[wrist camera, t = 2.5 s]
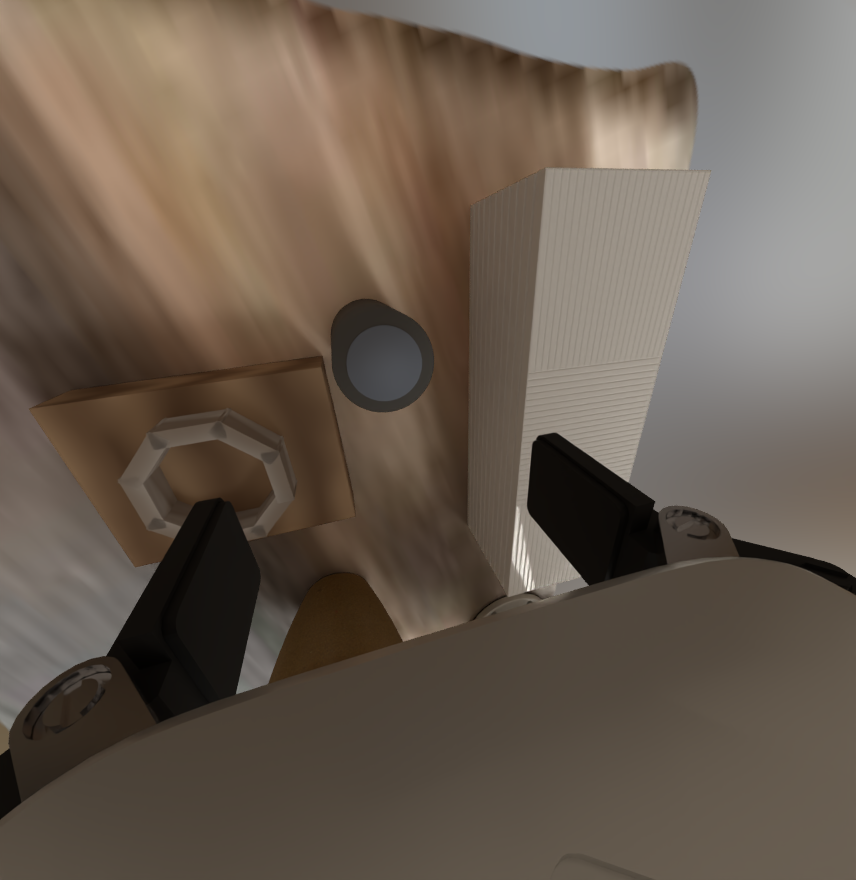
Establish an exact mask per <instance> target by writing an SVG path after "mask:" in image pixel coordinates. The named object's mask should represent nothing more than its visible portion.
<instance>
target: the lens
mask: <svg viewBox="0 0 856 880" xmlns="http://www.w3.org/2000/svg"><path fill="white" fill-rule="evenodd" d="M331 349H332V369H333V374H334V377H335V380H336V382H337V385H338V386H339V388H340V390H341V391H342V392H343V394H344V395H345V396H346V397H347V398H348V399H349V400H350V401H352V402H353V403H354V404H356V405H357V406H359V407H361V408H364V409H366V410H370V411H374V412H392V411H396V410H400V409H402V408H405V407H406V406H408V405H410V404H411V403H413V402H414V401H415V400H417V399H418V398H419V397H420V396H421V395H422V393H423V392H424V391H425V389H426V388H427V386H428V384H429V382H430V380H431V377H432V373H433V368H434V354H433V349H432V345H431V342H430V340H429V338H428V336H427V334H426V333H425V331H424V330H423V329H422V327H421V326H420V325H419V324H418V323H417V322H415V321H414V320H413V319H411V318H410V317H408V316H406V315H404V314H402V313H401V312H399V311H397V310H395V309H393V308H391V307H389V306H387V305H385V304H383V303H381V302H378V301H375V300H371V299H360V300H356V301H353V302H351V303H349V304H347V305H346V306H344V307H343V308H342V309H341V310H340V311H339V312H338V314H337V315H336V317H335V319H334V321H333V324H332V329H331Z"/></svg>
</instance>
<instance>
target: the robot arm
mask: <svg viewBox="0 0 856 880" xmlns="http://www.w3.org/2000/svg"><path fill="white" fill-rule="evenodd" d="M654 503H655V501H654V500H652V499H651V498H649V497H648V496H647V495H645V494H644V493H642V492H641V491H639V490H638V489H636V488H635V487H634V486H632V485H631V484H629V483H628V482H627V481H625V480H624V479H622V478H621V477H619V476H618V475H617V474H615V473H614V472H612V471H611V470H609V469H608V468H606V467H605V466H604V465H602V464H601V463H599V462H598V461H596V460H595V459H594V458H592V457H591V456H589V455H588V454H586V453H585V452H584V451H582V450H581V449H579V448H578V447H576V446H575V445H574V444H572V443H571V442H569V441H568V440H566V439H565V438H564V437H562V436H561V435H559V434H558V433H556V432H555V433H549V434H544V435H539V436H538V437H537V438H536V440H535V441H533V443H532V451H531V462H530V474H529V485H528V497H527V509H528V512H529V514H530V516H531V517H532V518H533V519H534V520H535V522H536V523H537V524H538V525H539V526H540V528H541V529H542V530H543V531H544V532H545V534H546V535H547V536H548V537H549V538H550V540H551V541H552V542H553V543H554V544H555V546H556V547H557V548H558V549H559V550H560V552H561V553H562V554H563V555H564V556H565V558H566V559H567V560H568V561H569V562H570V564H571V565H572V566H573V567H574V568H575V570H576V571H577V572H578V573H579V574H580V576H581V577H582V578H583V579H584V580H585V582H586V583H587V584H588V585H589V586H587V587H584V588H580V589H577V590H573V591H570V592H567V593H563V594H560V595H557V596H553V597H550V598H546V599H543V600H541V599H540V598H539V597H537V596H535V595H533V594H527V593H521V594H518V595H514V596H510V597H507V596H506V597H504V598H501V599H499V600H497V601H495V602H494V603H492V604H490V605H489V606H488V607H486V608H485V609H484V610H483V611H482V612H481V613H480V614H479V615H478V616H477V617H476V619H475V620H473V621H470V622H467V623H463V624H460V625H457V626H454V627H450V628H447V629H444V630H440V631H437V632H434V633H431V634H427V635H424V636H421V637H417V638H414V639H411V640H408V641H404V642H401V643H398V644H395V645H391V646H388V647H385V648H382V649H378V650H375V651H372V652H369V653H366V654H362V655H359V656H356V657H353V658H349V659H346V660H343V661H340V662H337V663H333V664H330V665H327V666H324V667H320V668H317V669H314V670H311V671H307V672H304V673H301V674H298V675H295V676H291V677H288V678H285V679H282V680H279V681H276V682H273V683H270V684H267V685H264V686H261V687H258V688H255V689H252V690H249V691H246V692H243V693H239V694H236V691H237V686H238V681H239V677H240V672H241V668H242V663H243V659H244V654H245V649H246V645H247V640H248V636H249V631H250V626H251V622H252V617H253V613H254V608H255V604H256V599H257V594H258V590H259V585H260V577H261V576H260V570H259V567H258V565H257V562H256V560H255V557H254V555H253V553H252V550H251V548H250V546H249V543H248V541H247V539H246V536H245V534H244V531H243V529H242V527H241V524H240V522H239V520H238V517H237V515H236V512H235V510H234V508H233V505H232V503H231V502H230V501H225V502H224V500H223V499H222V498H220V497H219V498H214V499H209V500H204V501H199V502H196V503H195V504H194V506H193V507H192V509H191V511H190V513H189V514H188V516H187V518H186V519H185V521H184V523H183V525H182V526H181V528H180V530H179V532H178V533H177V535H176V537H175V539H174V540H173V542H172V544H171V545H170V547H169V549H168V551H167V552H166V554H165V556H164V558H163V559H162V561H161V563H160V564H159V566H158V567H157V569H156V571H155V573H154V574H153V576H152V578H151V580H150V581H149V583H148V585H147V587H146V588H145V590H144V592H143V593H142V595H141V597H140V599H139V600H138V602H137V604H136V606H135V607H134V609H133V611H132V613H131V614H130V616H129V618H128V619H127V621H126V623H125V625H124V626H123V628H122V630H121V632H120V633H119V635H118V637H117V638H116V640H115V642H114V644H113V645H112V647H111V649H110V651H109V652H108V654H107V656H102V657H97V658H92V659H89V660H87V661H85V662H82V663H80V664H77V665H75V666H73V667H72V668H70V669H68V670H67V671H65V672H63V673H62V674H60V675H59V676H57V677H56V678H55V679H53V680H52V681H51V682H49V683H48V684H47V685H45V686H44V687H43V688H42V689H41V690H40V691H39V692H38V693H37V694H36V695H35V696H34V697H33V698H32V699H31V700H30V701H29V702H28V703H27V704H26V705H25V707H24V708H23V709H22V711H21V712H20V713H19V714H18V716H17V717H16V719H15V721H14V723H13V725H12V727H11V729H10V731H9V743H8V744H9V749H8V750H7V751H5V752H4V753H3V754H1V755H0V880H856V578H855V577H853V576H852V575H850V574H848V573H847V572H845V571H844V570H843V569H841V568H839V567H837V566H835V565H833V564H831V563H828V562H825V561H821V560H817V559H814V558H810V557H806V556H802V555H798V554H794V553H790V552H786V551H782V550H778V549H774V548H770V547H766V546H762V545H757V544H753V543H749V542H745V541H741V540H737V539H733V538H731V536H730V533H729V531H728V530H727V528H726V527H725V525H724V524H722V523H721V522H720V521H719V520H718V519H716V518H715V517H713V516H711V515H709V514H708V513H705V512H703V511H700V510H698V509H694V508H690V507H685V506H668V507H666V508H663V509H662V510H661V511H660V512H659V513H658V512H656V511H655V510H653V507H654Z"/></svg>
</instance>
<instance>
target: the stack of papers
mask: <svg viewBox="0 0 856 880" xmlns="http://www.w3.org/2000/svg"><path fill="white" fill-rule="evenodd" d="M710 173H711V170H664V169H608V168H552V167H546V168H544V169H542V170H540V171H538V172H537V173H534V174H532V175H530V176H528V178H524V179H522V180H520V181H519V182H516V183H514V184H512V185H511V186H508V187H506V188H504V190H500V191H498V192H497V193H494V194H492V195H491V196H488V197H486V198H485V199H482V200H480V201H478V202H476V203H475V204H473V205H471V208H470V314H469V420H468V527H469V529H470V530H471V532H472V534H473V536H474V538H475V539H476V540H477V543H478V545H479V546H480V548H481V550H482V552H483V554H484V556H485V557H486V558H487V561H488V563H489V565H491V568H492V570H493V572H495V575H496V577H497V579H498V580H499V582H500V584H501V586H502V588H503V587H504V591H505V593H506V595H507V597H510V596H514V595H518V594H521V593H525V592H528V591H532V590H536V589H539V588H543V587H547V586H550V585H554V584H558V583H561V582H565V581H568V580H572V579H576V578H579V577H581V576H580V574H579V573H578V572H577V571H576V570H575V568H574V567H573V566H572V565H571V564H570V562H569V561H568V560H567V559H566V558H565V556H564V555H563V554H562V553H561V552H560V550H559V549H558V548H557V547H556V546H555V544H554V543H553V542H552V541H551V540H550V538H549V537H548V536H547V535H546V534H545V532H544V531H543V530H542V529H541V528H540V526H539V525H538V524H537V523H536V522H535V520H534V519H533V518H532V517H531V516H530V514H529V512H528V509H527V497H528V485H529V474H530V462H531V451H532V443H533V441H535V440H536V438H537V437H538V436H539V435H544V434H549V433H555V432H556V433H558V434H559V435H561V436H562V437H564V438H565V439H566V440H568V441H569V442H571V443H572V444H574V445H575V446H576V447H578V448H579V449H581V450H582V451H584V452H585V453H586V454H588V455H589V456H591V457H592V458H594V459H595V460H596V461H598V462H599V463H601V464H602V465H604V466H605V467H606V468H608V469H609V470H611V471H612V472H614V473H615V474H617V475H618V476H619V477H621V478H622V479H624V480H625V481H627V482H628V483H629V479H630V475H631V471H632V467H633V464H634V460H635V456H636V452H637V449H638V445H639V441H640V437H641V434H642V429H643V426H644V422H645V418H646V414H647V411H648V407H649V403H650V400H651V396H652V392H653V388H654V385H655V381H656V376H657V373H658V369H659V366H660V362H661V358H662V354H663V351H664V347H665V343H666V339H667V336H668V332H669V328H670V324H671V320H672V317H673V313H674V309H675V305H676V302H677V298H678V294H679V290H680V286H681V282H682V279H683V275H684V271H685V268H686V264H687V260H688V256H689V253H690V249H691V245H692V241H693V238H694V234H695V230H696V226H697V222H698V219H699V215H700V211H701V207H702V203H703V200H704V196H705V192H706V189H707V184H708V181H709V177H710Z"/></svg>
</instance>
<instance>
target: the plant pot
mask: <svg viewBox="0 0 856 880" xmlns="http://www.w3.org/2000/svg"><path fill="white" fill-rule="evenodd" d="M401 642H403V641H402V639H401V637H400V635H399V633H398V631H397V629H396V627H395V625H394V624H393V622H392V620H391V618H390V617H389V615H388V613H387V611H386V610H385V608H384V606H383V605H382V603H381V602H380V600H379V598H378V597H377V596H376V594H375V593H374V591H373V590H372V588H371V587H370V586H369V584H368V583H367V582H366V581H365V580H364V579H363V578H362V577H360V576H358V575H356V574H351V573H337V574H332V575H329V576H326V577H324V578H322V579H320V580H319V581H317V582H316V583H315V584H314V585H313V586H312V587H311V588H310V589H309V591H308V592H307V594H306V596H305V598H304V600H303V602H302V604H301V606H300V608H299V610H298V612H297V614H296V616H295V618H294V620H293V622H292V624H291V627H290V629H289V631H288V634H287V636H286V638H285V641H284V643H283V646H282V648H281V651H280V653H279V656H278V658H277V661H276V664H275V667H274V669H273V672H272V675H271V678H270V680H269V683H268V684H270V683H273V682H276V681H279V680H282V679H285V678H288V677H291V676H295V675H298V674H301V673H304V672H307V671H311V670H314V669H317V668H320V667H324V666H327V665H330V664H333V663H337V662H340V661H343V660H346V659H349V658H353V657H356V656H359V655H362V654H366V653H369V652H372V651H375V650H378V649H382V648H385V647H388V646H391V645H395V644H398V643H401Z"/></svg>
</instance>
